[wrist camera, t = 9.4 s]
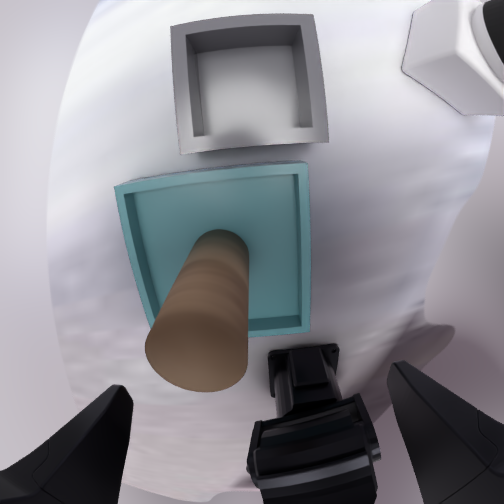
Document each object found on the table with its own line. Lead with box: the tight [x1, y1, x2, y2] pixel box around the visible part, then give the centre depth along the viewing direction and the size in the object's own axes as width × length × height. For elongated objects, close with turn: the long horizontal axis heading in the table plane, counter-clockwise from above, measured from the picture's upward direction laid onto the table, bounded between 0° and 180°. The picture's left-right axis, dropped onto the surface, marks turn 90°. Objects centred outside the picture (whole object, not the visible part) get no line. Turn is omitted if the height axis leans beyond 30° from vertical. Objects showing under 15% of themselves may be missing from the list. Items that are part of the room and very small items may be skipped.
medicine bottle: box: [402, 0, 504, 116], centre depth 8 cm, size 7×7×12 cm
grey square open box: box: [170, 14, 329, 155], centre depth 14 cm, size 8×8×4 cm
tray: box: [114, 161, 311, 337], centre depth 19 cm, size 12×12×2 cm
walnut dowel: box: [145, 229, 249, 392], centre depth 14 cm, size 4×4×10 cm
